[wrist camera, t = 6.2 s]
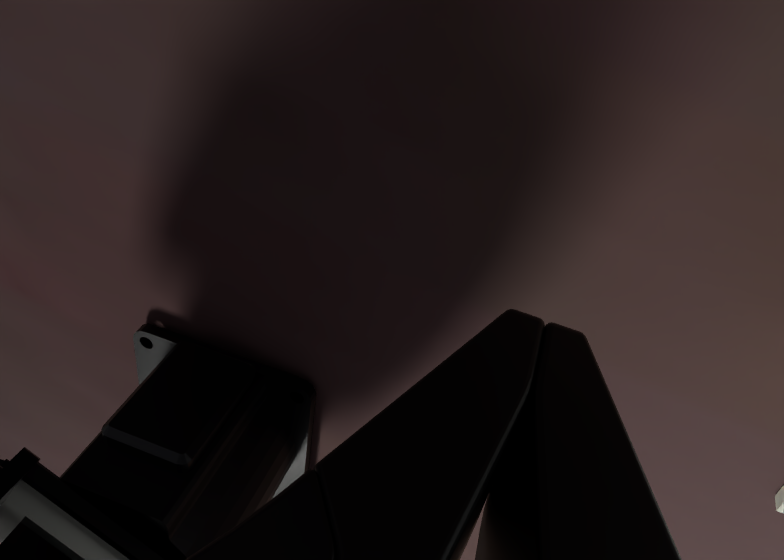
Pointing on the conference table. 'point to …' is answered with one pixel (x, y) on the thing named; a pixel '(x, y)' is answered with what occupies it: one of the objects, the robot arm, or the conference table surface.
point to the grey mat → (780, 500)
